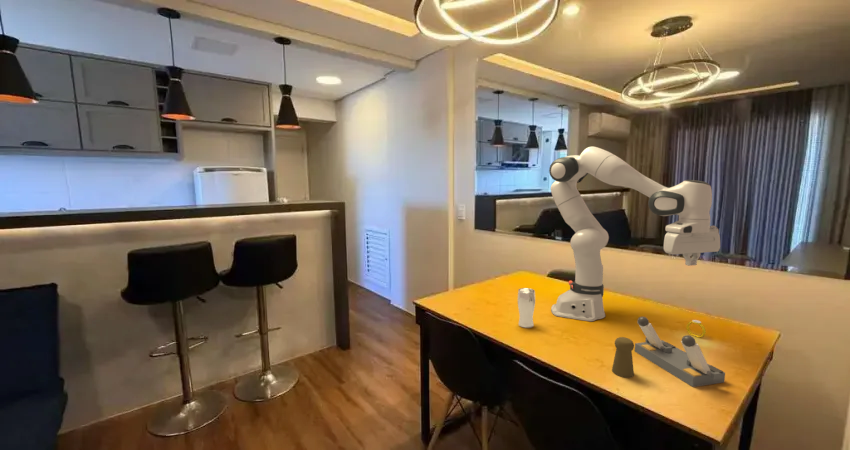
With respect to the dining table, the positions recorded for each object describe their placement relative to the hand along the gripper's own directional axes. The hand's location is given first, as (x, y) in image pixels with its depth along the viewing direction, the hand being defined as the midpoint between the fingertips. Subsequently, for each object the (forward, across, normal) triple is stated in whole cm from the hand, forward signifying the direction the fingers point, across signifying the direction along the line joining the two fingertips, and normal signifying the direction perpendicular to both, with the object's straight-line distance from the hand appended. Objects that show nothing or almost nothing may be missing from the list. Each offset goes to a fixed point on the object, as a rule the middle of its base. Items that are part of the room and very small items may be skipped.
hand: (690, 265), depth 125 cm
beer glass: (+29, +48, -28) cm, 63 cm away
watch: (+29, -9, -4) cm, 31 cm away
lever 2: (+26, +17, +22) cm, 38 cm away
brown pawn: (+29, +36, +12) cm, 48 cm away
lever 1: (+26, +17, +6) cm, 32 cm away
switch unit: (+29, +17, +12) cm, 36 cm away
